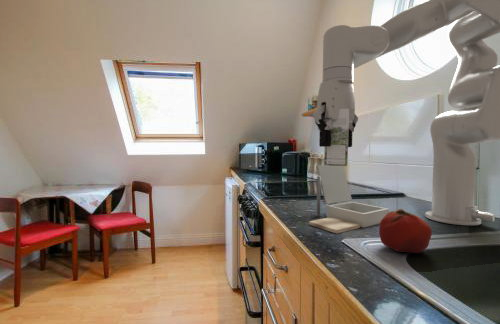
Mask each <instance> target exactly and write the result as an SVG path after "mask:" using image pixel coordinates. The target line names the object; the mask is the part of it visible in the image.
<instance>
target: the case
mask: <svg viewBox="0 0 500 324" xmlns="http://www.w3.org/2000/svg"><path fill="white" fill-rule="evenodd" d="M321 189H322V187H321V177H319V176H317V177H316V217H321ZM389 212H390V208H387V207H381V206H376V205H371V204H366V203H360V202H356V201H345V202H339V203H333V204H331V205H330V204H327V205H326V218H329V217H333V218H337V219H341V220H344V221H348V222H352V223H355V224H359V225H360V227H361V228H367V227H368V228H369V227H372V226H375V225H380V222H381V220H382V219H383V218H384V216H385V215H386V214H387V213H389Z"/></svg>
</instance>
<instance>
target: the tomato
mask: <svg viewBox="0 0 500 324" xmlns="http://www.w3.org/2000/svg"><path fill="white" fill-rule="evenodd" d="M432 231H433V230H432V228H431V226H430V225H429V224H428V223H427V221H426V220H424V219H422V218H421V217H419V216H418V215H416V214H414V213H412V212H408V211H405V209H402V208H398V209H396V210H393V211H389V213H387V214H386V215H385V216H384V218H383V219H382V220H381V222H380V223H379V228H378V233H379V239H380V241H381V244H382V245H384V246H385V247H386V248H390V249H392V250H395V251H396V252H397V253H398V252H399V253H411V254H419V253H422V252H424V251H425V250H426V249H427V248H428V247H429V244H430V240H431V238H432V233H433V232H432Z"/></svg>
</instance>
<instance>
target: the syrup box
mask: <svg viewBox="0 0 500 324" xmlns="http://www.w3.org/2000/svg"><path fill="white" fill-rule="evenodd" d="M325 118H328V113H327V111H326V110H325ZM325 123H327V122H325ZM329 130H331V146H329V147H324V148H323V149H324V153H323V155H324V156H323V158H324V159H323V165H330V166H343V167H347V166H348V162H349V161H348V160H349V155H348V153H349V147H348V132H349V109H340V110H339V116H338V120H336V121H333V122H332V124H331V126H330V128H329Z"/></svg>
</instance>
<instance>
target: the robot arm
mask: <svg viewBox="0 0 500 324" xmlns="http://www.w3.org/2000/svg"><path fill="white" fill-rule="evenodd" d="M449 25H450V26H449ZM447 26H449V28H448V30H447V39H448V42H449V44H450V46H451V47H452V48H453V50H454V52H455V53H456V56H457V58H458V59H457V60H458V64H457V67H456V69H455V70H456V71H455V73H454V76H453V79H452V82H451V85H450V87H449V90H448V95H447V101H448V104H449V105H450V106H451V107H452V108H455V110H449V111H445V112H443V113H440V114H439V115H437V116H435V118H433V119H432V121H431V123H430V128H429V129H430V131H429V132H430V137H431V140H432V141H431V142H432V149H433V163H432V164H433V166H432V170H433V171H432V189H431V191H432V195H431V210H429V211H426V212H424V213H425V214H424V216H425V218H427V219H428V220H429V219H430V220H432V221H435V222H440V223H444V224H449V225H450V224H451V225H456V226H471V227H472V226H479V225H481V224H482V220H484V221H488V222H495V220H496V219H495V218H496V215H495V214H494V213H491V212H488V211H480V210H479V206H478V205H477V206H476V205H475V197H476V196H475V193H476V172H477V171H476V168H477V159H476V158H477V157H476V155H475V153H474V151H473V150H472V148H471V146H470V145H469V144H488V143H495V142H496V143H497V142H498V141H500V65H497V63H498V61H499V60H498V59H499V57H498V54H497V52H496V51H495V50H494V49H493V48H492V47H490V46H489V45H488V44H486V42H485V41H483V40H484V39H487V38H489V37H492V36H494V35H497V34H500V0H425V1H423V2H420V3H418V4H416V5H413V6H412V7H409V8H406V9H404V10H402V11H401V12H399V13H398V14H396V15H394V16H393V17H391V18H390V19H388V20H387V21H385V22H384V23H383V24H381V25H363V26H362V25H361V26H353V27H352V26H349V25H345V24H340V25H335V26H331V27H330V28H328V29H327V30H326V31H325V32H324V35H323V40H322V42H323V45H322V82H320V84H319V89H318V94H317V101H316V109H315V110H314V111H313V112H312V117H313V119H314V122H315V124H316V126H317V130H318V132H319V138H318V140H319V145H318V146H319V147H320V148H321V147H329V146H331V130H329V128H330V126H331V124H332V122H333V121H336V120H338V116H339V110H340V109H349V132H348V148H352V147H353V133H354V131H355V129H356V128H355V127H356V126H357V122H358V120H359V117H358V116H357V114H356V110H355V109H356V103H355V102H356V101H355V89H354V69H358V68H359V67H360V66H362V65H365V64H367V63H369V62H372V61H374V60H376V59H377V58H381V57H382V56H384V55H387V54H389V53H391V52H394V51H395V50H398V49H402V48H403V47H405V46H407V45H409V44H412V43H413V42H415V41H418V40H420V39H422V38H424V37H426V36H428V35H431V34H433V33H435V32H437V31H440V29H444V28H445V27H447ZM325 110H326V111H327V113H328V118H325ZM325 122H327V123H325Z"/></svg>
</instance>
